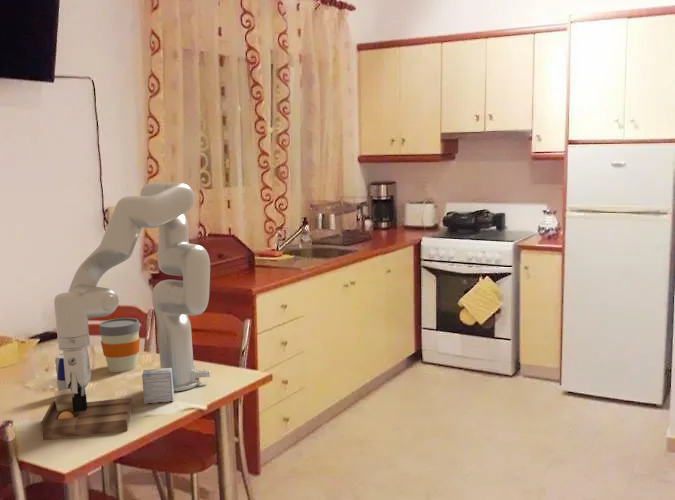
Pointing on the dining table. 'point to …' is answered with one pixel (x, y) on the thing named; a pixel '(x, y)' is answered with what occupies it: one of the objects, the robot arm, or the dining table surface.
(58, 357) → the energy drink
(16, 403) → the dining table surface
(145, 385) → the medicine box
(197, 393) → the dining table surface
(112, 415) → the brown wooden divided tray
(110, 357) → the reusable coffee cup
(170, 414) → the dining table surface
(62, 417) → the ball
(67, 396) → the beech cube
